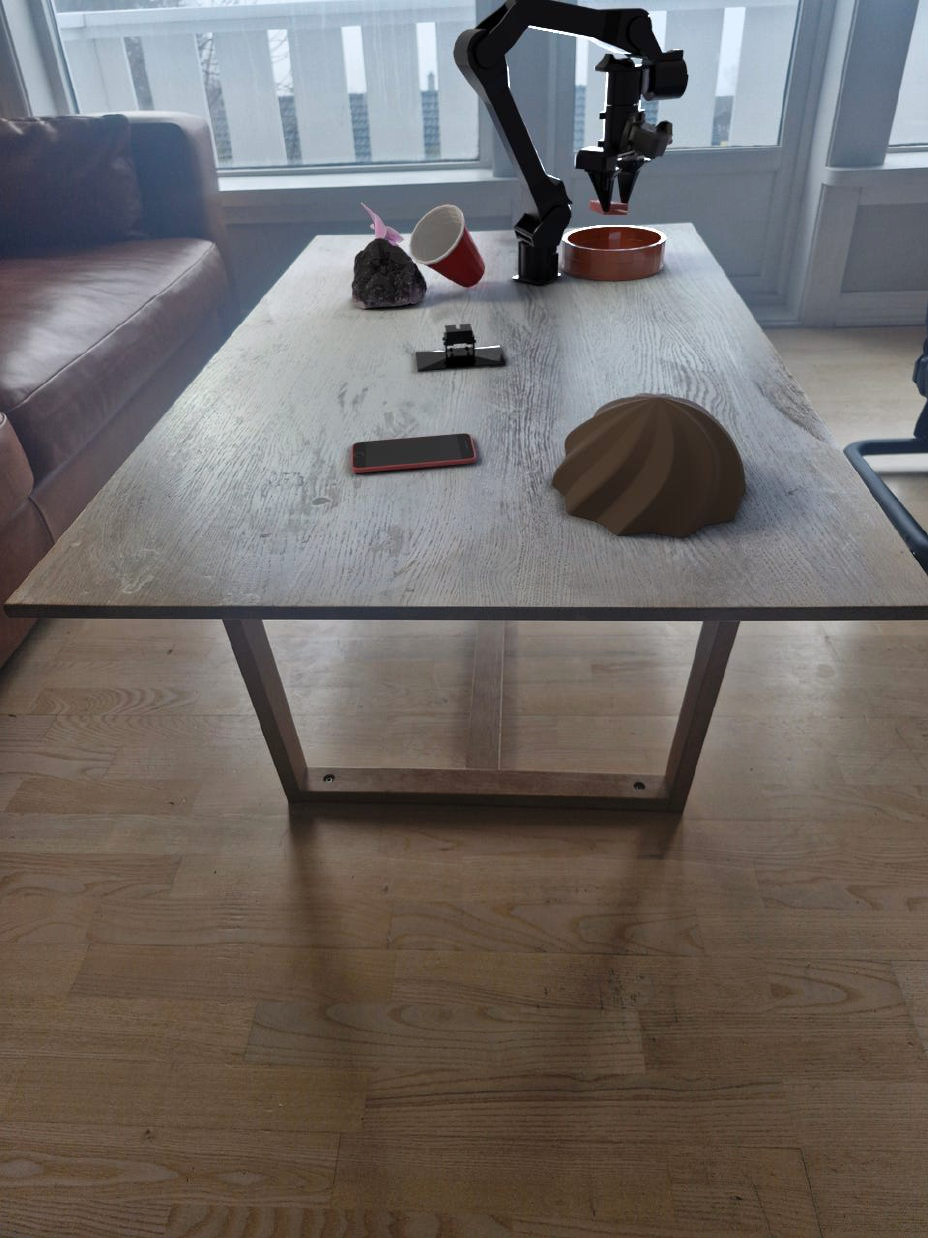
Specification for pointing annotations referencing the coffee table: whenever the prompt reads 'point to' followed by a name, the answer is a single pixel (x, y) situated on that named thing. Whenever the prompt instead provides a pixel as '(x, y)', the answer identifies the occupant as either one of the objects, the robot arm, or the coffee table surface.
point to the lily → (384, 229)
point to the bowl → (613, 252)
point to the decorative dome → (651, 467)
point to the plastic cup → (447, 246)
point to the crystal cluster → (386, 277)
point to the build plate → (459, 352)
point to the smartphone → (412, 453)
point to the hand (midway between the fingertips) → (615, 208)
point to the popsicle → (615, 207)
